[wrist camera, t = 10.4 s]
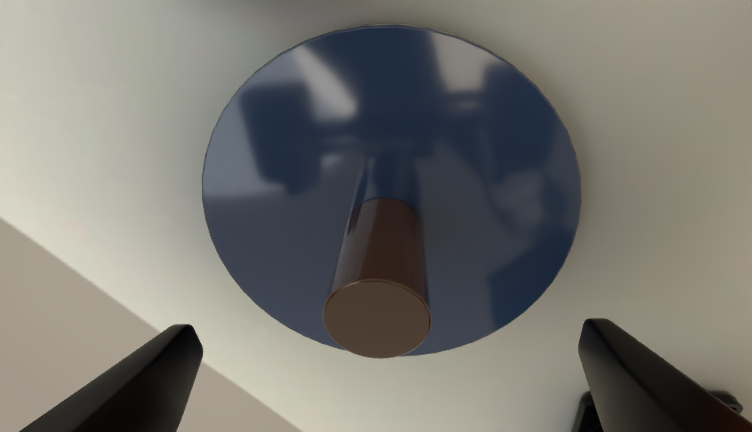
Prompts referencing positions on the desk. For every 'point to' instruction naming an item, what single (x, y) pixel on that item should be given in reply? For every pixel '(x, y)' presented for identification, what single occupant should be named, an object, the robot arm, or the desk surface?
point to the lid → (391, 190)
